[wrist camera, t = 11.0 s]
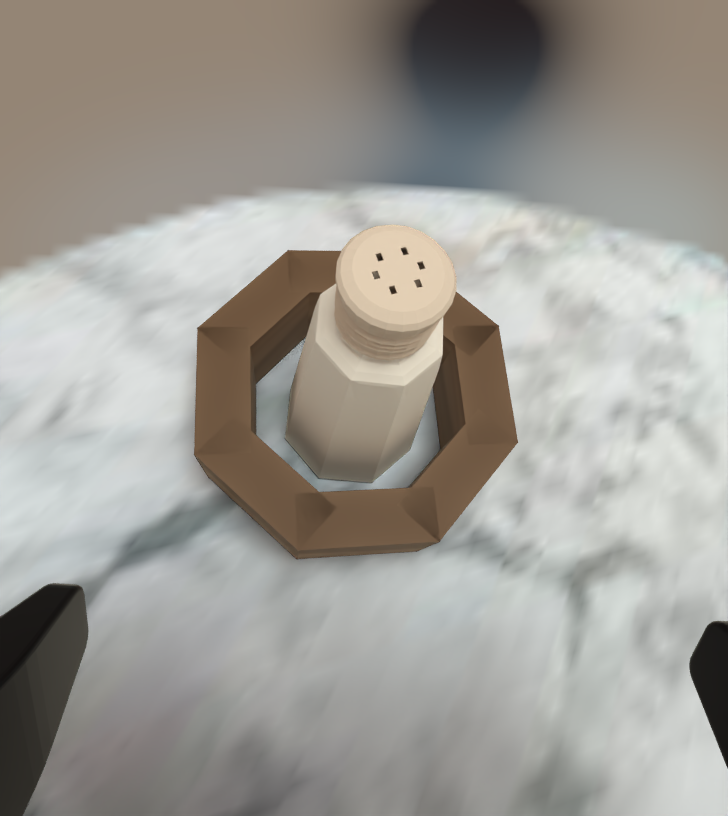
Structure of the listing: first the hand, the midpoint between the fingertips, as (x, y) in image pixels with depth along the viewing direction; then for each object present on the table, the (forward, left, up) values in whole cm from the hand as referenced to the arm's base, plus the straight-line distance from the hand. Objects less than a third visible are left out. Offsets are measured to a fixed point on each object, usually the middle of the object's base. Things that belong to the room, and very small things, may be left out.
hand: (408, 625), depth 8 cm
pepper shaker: (+6, +5, -13) cm, 15 cm away
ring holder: (+6, +5, -13) cm, 15 cm away
